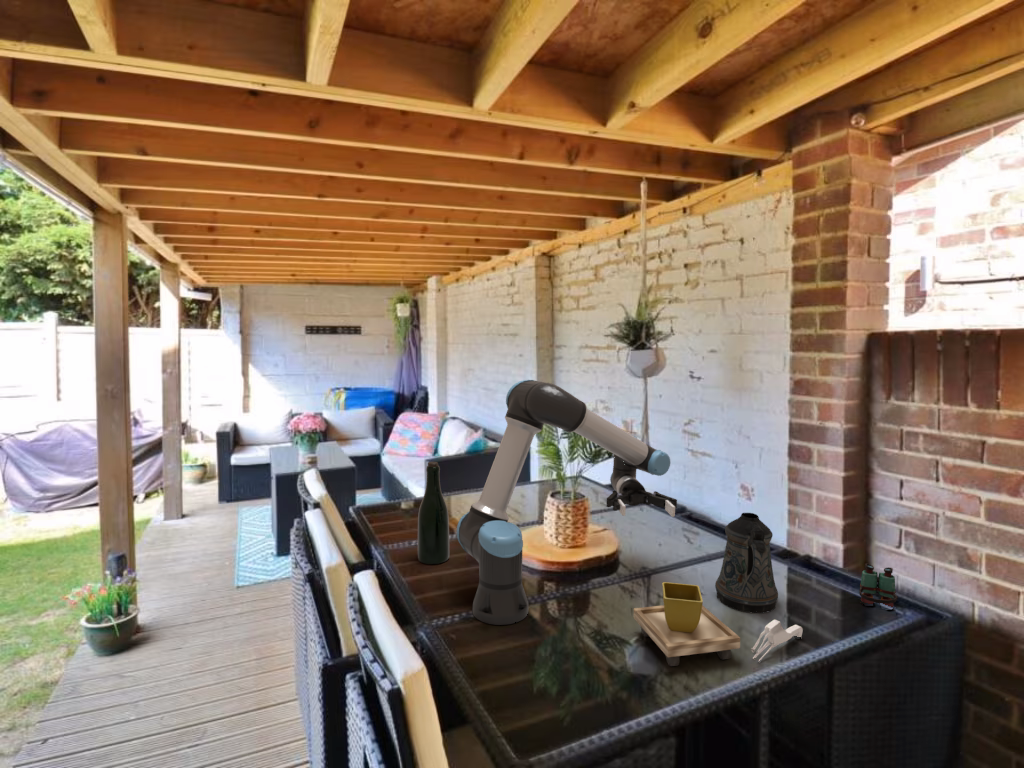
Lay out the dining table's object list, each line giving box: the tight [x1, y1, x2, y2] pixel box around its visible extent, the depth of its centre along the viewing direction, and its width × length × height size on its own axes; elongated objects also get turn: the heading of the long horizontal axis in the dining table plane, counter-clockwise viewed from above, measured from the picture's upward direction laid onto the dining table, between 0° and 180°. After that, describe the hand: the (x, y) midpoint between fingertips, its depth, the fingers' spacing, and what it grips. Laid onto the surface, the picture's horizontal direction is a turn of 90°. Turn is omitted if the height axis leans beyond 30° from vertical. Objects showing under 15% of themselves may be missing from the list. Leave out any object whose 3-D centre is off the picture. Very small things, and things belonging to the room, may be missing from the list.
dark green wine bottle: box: [417, 461, 450, 565], centre depth 187 cm, size 10×10×33 cm
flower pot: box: [661, 581, 704, 633], centre depth 134 cm, size 9×9×9 cm
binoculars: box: [859, 563, 899, 607], centre depth 157 cm, size 9×11×10 cm
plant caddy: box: [633, 604, 741, 667], centre depth 135 cm, size 18×18×6 cm
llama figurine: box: [750, 619, 804, 662], centre depth 134 cm, size 2×11×18 cm
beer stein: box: [714, 512, 779, 614], centre depth 158 cm, size 16×19×25 cm
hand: (648, 511), depth 153 cm, fingers open, 13 cm apart
